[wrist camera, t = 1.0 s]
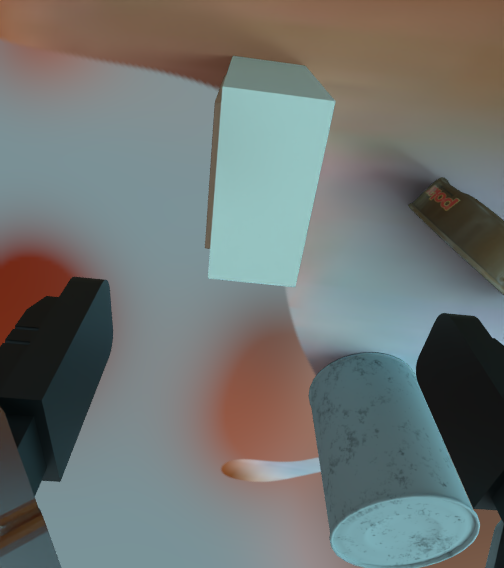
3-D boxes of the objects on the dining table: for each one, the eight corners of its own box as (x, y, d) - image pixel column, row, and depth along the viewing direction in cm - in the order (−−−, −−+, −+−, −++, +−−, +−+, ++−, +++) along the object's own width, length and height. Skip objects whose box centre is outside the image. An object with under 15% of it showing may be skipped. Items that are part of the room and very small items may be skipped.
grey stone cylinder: (321, 434, 41) (345, 578, 31) (296, 367, 36) (315, 512, 26) (422, 414, 39) (481, 558, 29) (410, 340, 34) (478, 484, 24)
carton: (305, 65, 23) (335, 101, 15) (281, 201, 28) (295, 287, 19) (227, 54, 23) (213, 85, 15) (216, 193, 27) (201, 277, 19)
